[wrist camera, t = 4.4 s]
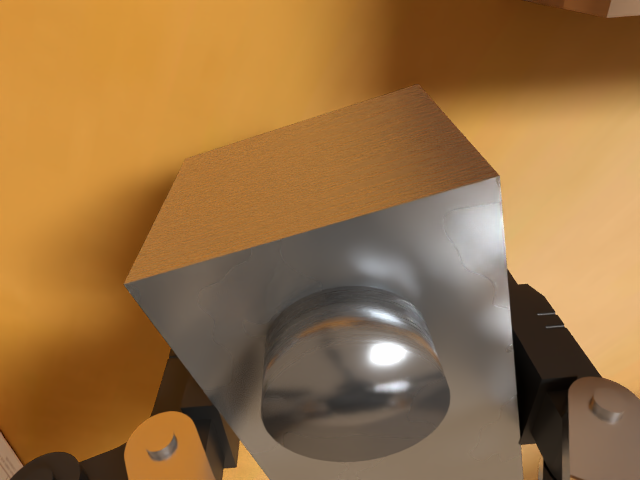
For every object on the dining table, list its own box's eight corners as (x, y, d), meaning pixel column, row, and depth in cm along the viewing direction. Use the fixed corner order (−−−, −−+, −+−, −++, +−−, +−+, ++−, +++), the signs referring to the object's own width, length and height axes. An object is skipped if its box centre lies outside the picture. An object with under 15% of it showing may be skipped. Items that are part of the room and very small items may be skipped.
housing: (467, 369, 15) (548, 565, 10) (315, 405, 16) (324, 604, 11) (418, 84, 9) (543, 224, 5) (185, 158, 10) (92, 346, 5)
